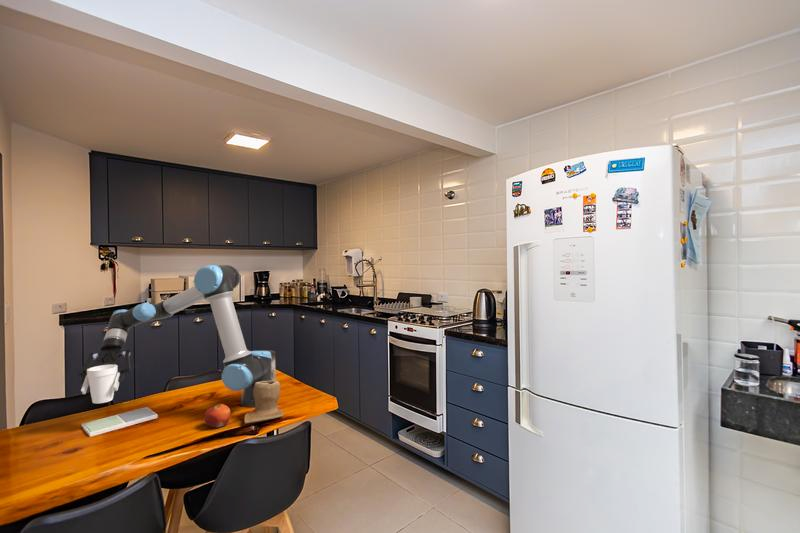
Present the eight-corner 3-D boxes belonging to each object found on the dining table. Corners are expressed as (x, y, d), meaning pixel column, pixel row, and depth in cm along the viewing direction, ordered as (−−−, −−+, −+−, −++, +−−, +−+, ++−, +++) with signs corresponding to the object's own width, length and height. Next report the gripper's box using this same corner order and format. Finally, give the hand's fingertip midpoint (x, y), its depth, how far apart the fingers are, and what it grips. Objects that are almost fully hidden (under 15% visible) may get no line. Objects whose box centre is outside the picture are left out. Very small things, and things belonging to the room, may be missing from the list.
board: (157, 417, 155) (157, 414, 155) (90, 436, 138) (90, 432, 138) (146, 409, 164) (146, 406, 164) (81, 426, 147) (81, 423, 147)
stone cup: (280, 410, 161) (279, 375, 161) (285, 420, 150) (284, 382, 150) (242, 417, 154) (241, 380, 154) (244, 428, 143) (244, 389, 143)
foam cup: (122, 398, 148) (121, 366, 148) (94, 406, 140) (93, 372, 140) (111, 395, 153) (110, 363, 153) (83, 402, 145) (82, 368, 145)
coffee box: (258, 384, 196) (258, 354, 196) (254, 382, 201) (254, 352, 201) (275, 381, 202) (275, 351, 202) (271, 378, 207) (271, 349, 207)
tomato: (235, 423, 147) (235, 403, 147) (212, 432, 139) (212, 411, 139) (222, 418, 152) (222, 399, 152) (199, 427, 145) (199, 406, 145)
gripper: (146, 344, 165) (135, 391, 150) (85, 349, 157) (67, 399, 142) (142, 334, 160) (131, 382, 145) (79, 339, 152) (59, 389, 137)
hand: (99, 390), depth 144 cm, fingers closed on foam cup, 9 cm apart
